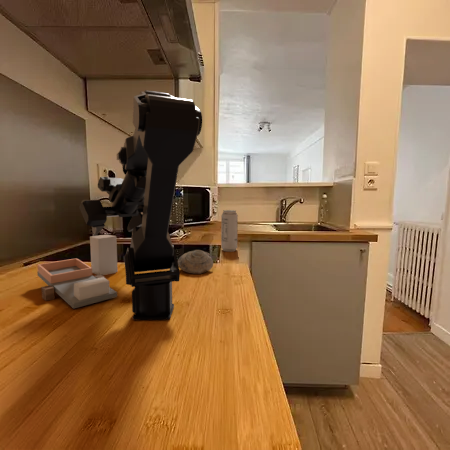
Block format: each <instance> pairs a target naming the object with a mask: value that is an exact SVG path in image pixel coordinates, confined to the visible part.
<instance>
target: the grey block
mask: <svg viewBox="0 0 450 450" xmlns="http://www.w3.org/2000/svg"><path fill="white" fill-rule="evenodd" d="M89 244H90V248H89V249H90V264H91V266H90V267H91V268H92V274H94V275H95V276H97V275H102V276H107V275H111V274H116V272H117V273H118V245H117V236H116V235H111V234H101V235H92V236H89Z"/></svg>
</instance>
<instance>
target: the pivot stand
mask: <svg viewBox="0 0 450 450" xmlns="http://www.w3.org/2000/svg"><path fill="white" fill-rule="evenodd" d="M93 276H94V277H95V278H102V277H104V278H106V276H105V275H93ZM55 298H56V297H55V291H54V288H53V287H52V286H50V285H49V286H48V285H45V286H41V299H42V300H44V301H45V302H47V301H51V300H52V301H53V300H55Z"/></svg>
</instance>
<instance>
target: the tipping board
mask: <svg viewBox="0 0 450 450" xmlns="http://www.w3.org/2000/svg"><path fill="white" fill-rule="evenodd" d="M36 271H37V277H39V278H40V280H42V281H43V282H44V283H45V284H46V286H49V285H50V286H52V287H53V288H54V293H56V294H57V295H58V297H60V298H61V299H63V300H64V301H65V303H66V304H68V305H69V306H70V307H71V308H72V309H77V308H81V307H84V306H89V305H93V304H94V303H99V302H103V301H106V300H111V299H115V298H118V291H116V290H114V289H113V288H112V287H110V280H109V279H107V278H106V277H105V276H104V277H105V278H104V277H102V278H95V277H94V276H95V275H93V273H92V268H91V266H90V265H88V264H86V262H83V261H82V260H81V259H79V258H77V257H76V258H71V259H69V258H68V259H64V260H57V261H51V262H44V263H38V264H37V270H36Z"/></svg>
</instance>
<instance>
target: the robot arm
mask: <svg viewBox="0 0 450 450" xmlns="http://www.w3.org/2000/svg"><path fill="white" fill-rule="evenodd" d="M132 105H133V108H132V110H133V111H132V124H133V126H134V130H133V131H134V132H133V135H131V136H128V137H126V138H125V140H124V142H123V146H120V149H119V151H118V152H117V153H116V160H117V161H118V162H119V164H121V165H122V172H123V174H124V177H123V178H120V177H108V176H100V177H99V179H98V181H97V188H98V189H99V191H101V192H102V193H103V192H104V193H105V192H106V194H108V197H107V198H108V201H109V202H110V203H112V204H111V206H103V204H102V202H101V200H100V199H82V200H81V202H80V204H79V206H78V208H79V210H80V213H81V215H82V217H83V220H84V222H85V224H86V225H87V226H89V227H92V233H93V236H98V234H100V232H101V231H102V230H103V229H104V228H105V226H106V225H105V224H106V222H107V220H108V218H113V217H119V218H127V217H131V218H130V220H129V222H128V225H127V228H126V229H127V231H128V232H129V233H131V239H130V247H127V249H126V253H125V255H124V256H123V259H124V260H123V261H124V269H125V285H128V286H129V285H130V287H132V288H133V289H132V291H131V308H132V309H131V311H132V313H133V316H132V320H133V321H148V320H149V321H153V320H154V321H156V320H157V321H159V320H161V321H162V320H163V321H164V320H165V321H166V320H167V321H168V320H170V319H171V317H172V314H173V310H174V307H175V303H173V283H174V282H176V283H177V282H180V273H181V271H180V270H181V269H180V268H179V266H178V259H177V253H176V250H175V247H174V244H173V242H172V238H171V236H170V233H169V228H170V227H169V225H170V222H171V221H170V220H171V216H172V209H173V204H174V199H175V198H174V196H175V192H176V185H177V178H178V174H179V167H180V165H182V163H184V161H185V160H186V159H187V158H188V157H189V156H190V155H191V154H192V153H193V152H194V150H195V146H196V142H197V138H198V136H199V135H200V134H201V131H202V127H203V114H202V111H201V109H199V107H197V106H196V104H195V102H194V100H193V99H187V98H181V97H175V96H174V95H171V94H170V93H167V92H161V91H153V90H147V89H145V90H144V91H140V92H139V94H137V95H134V96H133V103H132Z"/></svg>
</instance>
